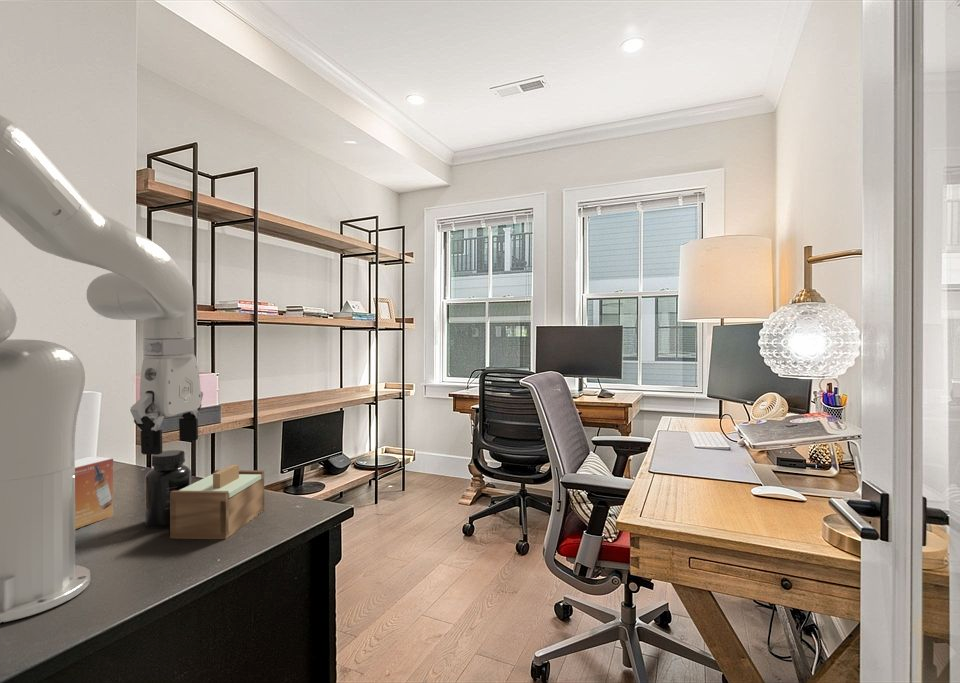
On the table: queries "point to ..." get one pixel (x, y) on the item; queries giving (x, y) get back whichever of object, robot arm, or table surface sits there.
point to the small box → (93, 490)
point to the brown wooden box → (214, 511)
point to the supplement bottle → (164, 486)
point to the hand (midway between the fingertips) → (171, 446)
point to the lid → (225, 481)
